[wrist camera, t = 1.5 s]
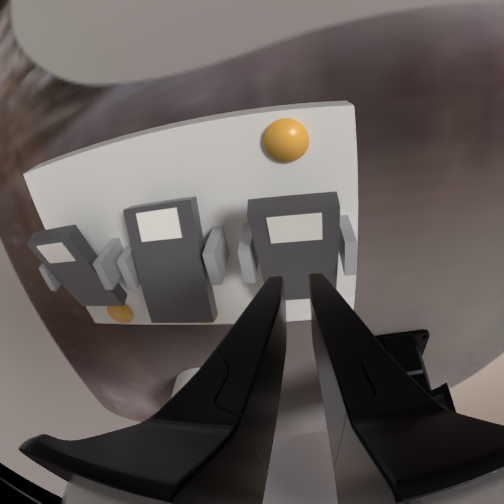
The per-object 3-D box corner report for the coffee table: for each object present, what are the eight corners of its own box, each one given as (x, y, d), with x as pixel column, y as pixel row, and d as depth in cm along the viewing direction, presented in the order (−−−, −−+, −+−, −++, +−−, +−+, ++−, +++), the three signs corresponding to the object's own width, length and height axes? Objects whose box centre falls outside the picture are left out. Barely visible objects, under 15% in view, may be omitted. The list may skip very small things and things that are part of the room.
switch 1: (127, 294, 21) (123, 306, 20) (86, 295, 22) (81, 306, 21) (75, 224, 16) (67, 238, 15) (33, 232, 16) (26, 244, 16)
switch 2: (217, 313, 18) (213, 322, 17) (157, 314, 19) (151, 323, 18) (196, 196, 16) (189, 199, 15) (131, 206, 17) (122, 210, 16)
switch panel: (349, 297, 23) (359, 346, 19) (104, 307, 26) (82, 346, 22) (346, 100, 15) (368, 114, 11) (39, 163, 18) (-3, 191, 14)
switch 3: (334, 282, 19) (335, 297, 18) (268, 287, 19) (268, 302, 19) (336, 191, 13) (340, 207, 13) (248, 199, 14) (246, 215, 13)
